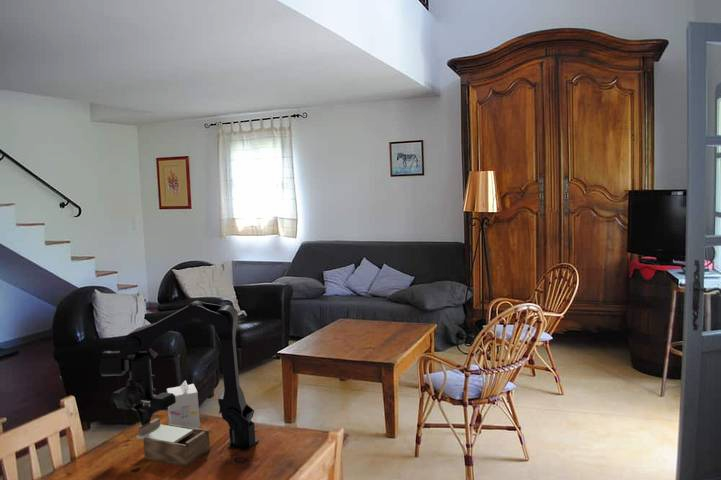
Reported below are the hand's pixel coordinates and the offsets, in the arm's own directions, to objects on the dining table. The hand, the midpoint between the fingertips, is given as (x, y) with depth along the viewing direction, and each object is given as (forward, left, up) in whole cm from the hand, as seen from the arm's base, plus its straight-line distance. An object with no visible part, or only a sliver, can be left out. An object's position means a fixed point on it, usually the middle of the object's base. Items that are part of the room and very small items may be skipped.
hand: (145, 427), depth 165 cm
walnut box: (-11, 0, -6) cm, 13 cm away
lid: (-7, 0, -1) cm, 7 cm away
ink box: (0, -16, -7) cm, 17 cm away
